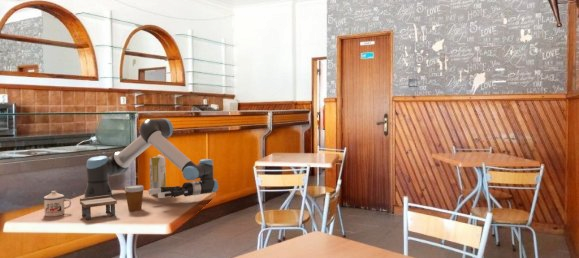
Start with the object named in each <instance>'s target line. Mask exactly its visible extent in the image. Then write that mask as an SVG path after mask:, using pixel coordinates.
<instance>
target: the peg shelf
mask: <svg viewBox="0 0 579 258" xmlns="http://www.w3.org/2000/svg"><path fill="white" fill-rule="evenodd" d="M79 204H80V205H81V216H82V217H85V218H86V219H85V220H86V221H91V220H92V217H91V216H92V212H91V208H95V207H96V208H97V207H103V206H105V213H106V214H109V213H110V217H116V205H118V202H117V200H116V199H114V198H113V197H112V195H111V196H110V195H104V196H96V197H88V198H85V197H81V198H79Z"/></svg>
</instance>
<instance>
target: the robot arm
mask: <svg viewBox="0 0 579 258" xmlns="http://www.w3.org/2000/svg"><path fill="white" fill-rule="evenodd" d="M138 131H139V136H138V137H137V138H135V139H134V140H133V141H132V142H131V143H130V144H128V145H127V146H126V147H125V148H124V149H122V150H121V151H116V152H115V153H114V154H112V155H111V156H109V157H108V156H106V155H99V156H92V157H90V158H88V159H87V160H86V181H87V184H86V187H85V190H84V198H88V197H96V196H104V195H110V196H111V197H112V195H113V191H112V188H111V185H110V182H109V177H114V176H119V175H123V174H125V173H126V172H128V170H129V169H130V166H131V162H132V161H134V159H136V158H137V157H138V156H139V155H141V154H142V153H143V152H144V151H146V150H147V149H148V148H150V147H151V146H153V147H154V149H156V150H157V151H159V153H161V155H162V156H164V157H165V159H167V160H168V161H170V162H171V163H172V164H173V165H174V166H175V167H177V168H178V170H180V171H181V172H182V177H183V178H184V180H186V181H189V182H184V183H182V186H181V185H179V186H178V185H176V186H175V185H174V186H166V187H160V188H156V189H150V188H149V189H148V195H151V194H158V195H157V199H163V198H164V199H165V198H171V197H172V198H177V197H181V196H184V197H191V196H198V195H205V194H206V195H207V194H212V193H213V194H214V193H216V192H217V191H218V190H219V182H218V179H215V178H214V161H213V159H210V158H204V159H203V158H202V159H200V160H199V164H198V163H197V164H195V162H193V161H192V160H191V159H190V158H189V157H187V155H185V154H184V152H182V151H180V150H179V148H177V147H176V146H175V145H174V144H173V143H172V142H170V141H169V140H168V138H170V137H171V136H172V135H173V131H174V125H173V123H172V122H171V120H169V119H168V118H163V117H161V118H149V119H145V120H144V121H142V123H141V124H140V126H139V130H138ZM198 179H199V180H198ZM197 180H198V181H197ZM190 181H191V182H190Z"/></svg>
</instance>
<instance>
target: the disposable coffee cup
mask: <svg viewBox="0 0 579 258" xmlns="http://www.w3.org/2000/svg"><path fill="white" fill-rule="evenodd" d="M144 189H145V187H144V185H142V184H134V185H133V184H132V185H128V186H125V187H124V192H125V197H126V203H127V208H128V209H127V210H128V211H129V212H138V211H141V210H142V205H143V196H144Z"/></svg>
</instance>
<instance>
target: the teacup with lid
mask: <svg viewBox="0 0 579 258" xmlns="http://www.w3.org/2000/svg"><path fill="white" fill-rule="evenodd" d="M65 201H67V202H69V203H68V204H69V205H68V206H66V207H65ZM43 205H44V207H43V208H44V216H45V217H58V216H59V217H60V216H62V215H64V214H65V210H67V209H69V208H71V205H72V201H71V199H69V198H65V195H64V194H62V193H58V192H57V190H51V193H49V194H48V195H45V196H44V197H43Z"/></svg>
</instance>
